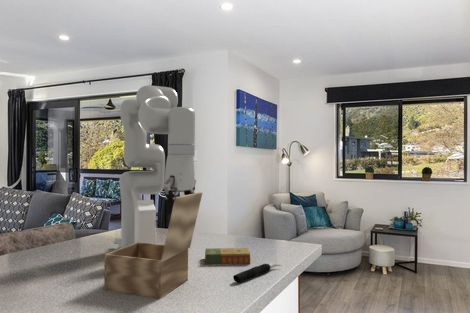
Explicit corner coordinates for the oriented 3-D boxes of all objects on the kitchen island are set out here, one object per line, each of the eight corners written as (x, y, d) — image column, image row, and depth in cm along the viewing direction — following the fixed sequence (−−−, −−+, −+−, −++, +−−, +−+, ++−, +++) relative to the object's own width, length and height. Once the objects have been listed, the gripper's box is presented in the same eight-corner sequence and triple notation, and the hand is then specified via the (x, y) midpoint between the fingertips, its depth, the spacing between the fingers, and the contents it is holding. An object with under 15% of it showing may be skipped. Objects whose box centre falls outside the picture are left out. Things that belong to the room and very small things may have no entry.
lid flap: (175, 197, 97) (177, 198, 97) (200, 192, 112) (202, 192, 112) (161, 260, 98) (162, 261, 98) (188, 246, 113) (189, 247, 113)
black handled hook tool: (272, 267, 128) (272, 258, 128) (282, 269, 125) (282, 260, 125) (231, 283, 112) (231, 273, 112) (242, 286, 109) (242, 276, 109)
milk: (155, 263, 131) (156, 200, 131) (138, 265, 128) (139, 201, 128) (150, 258, 136) (151, 198, 136) (133, 260, 133) (134, 199, 133)
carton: (250, 265, 131) (250, 253, 131) (204, 265, 130) (204, 253, 130) (247, 258, 139) (248, 247, 139) (204, 259, 138) (205, 247, 138)
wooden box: (104, 290, 104) (104, 254, 104) (137, 273, 119) (137, 242, 119) (160, 298, 98) (161, 261, 98) (187, 280, 113) (188, 247, 113)
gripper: (183, 151, 115) (182, 206, 115) (153, 150, 98) (152, 215, 98) (205, 151, 112) (205, 208, 112) (178, 151, 96) (177, 217, 96)
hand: (180, 211), depth 105 cm, fingers open, 9 cm apart
